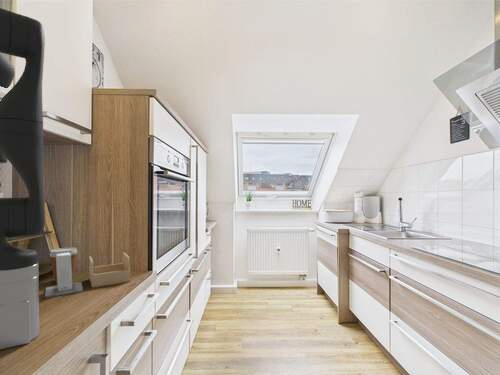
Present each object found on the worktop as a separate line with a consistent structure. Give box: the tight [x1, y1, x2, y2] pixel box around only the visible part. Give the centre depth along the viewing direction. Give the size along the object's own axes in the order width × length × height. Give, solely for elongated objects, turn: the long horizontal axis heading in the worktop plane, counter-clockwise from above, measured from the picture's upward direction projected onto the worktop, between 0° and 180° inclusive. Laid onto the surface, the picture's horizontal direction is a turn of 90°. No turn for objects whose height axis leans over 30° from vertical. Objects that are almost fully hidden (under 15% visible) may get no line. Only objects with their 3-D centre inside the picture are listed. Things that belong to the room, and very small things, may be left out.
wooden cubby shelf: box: [88, 252, 131, 289], centre depth 117 cm, size 13×13×9 cm
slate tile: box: [44, 281, 84, 299], centre depth 106 cm, size 11×11×1 cm
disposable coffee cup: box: [49, 247, 78, 283], centre depth 119 cm, size 10×10×12 cm
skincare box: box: [56, 252, 73, 291], centre depth 106 cm, size 6×4×12 cm
